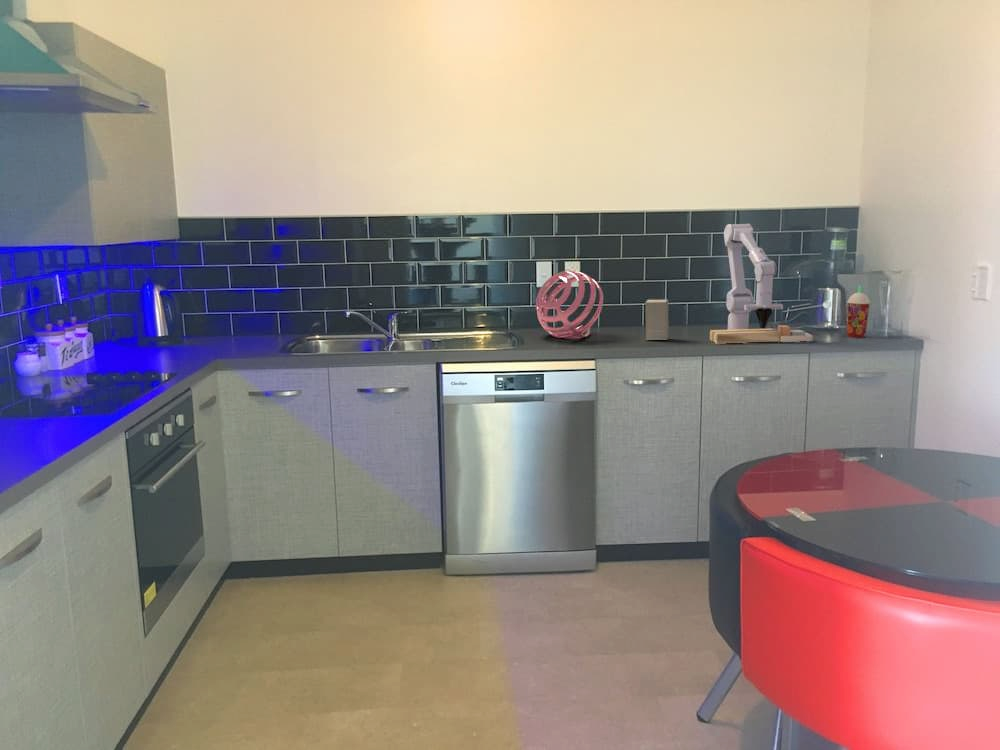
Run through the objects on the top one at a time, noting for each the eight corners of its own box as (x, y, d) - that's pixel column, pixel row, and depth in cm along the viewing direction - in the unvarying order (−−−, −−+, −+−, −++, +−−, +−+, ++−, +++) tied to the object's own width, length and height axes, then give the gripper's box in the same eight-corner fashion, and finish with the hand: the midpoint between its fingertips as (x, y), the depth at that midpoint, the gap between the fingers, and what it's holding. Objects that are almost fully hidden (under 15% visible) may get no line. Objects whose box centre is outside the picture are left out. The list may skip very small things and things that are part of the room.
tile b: (800, 329, 326) (799, 337, 327) (787, 330, 326) (787, 337, 326) (805, 331, 321) (804, 339, 322) (792, 332, 321) (791, 340, 322)
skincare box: (668, 338, 332) (669, 299, 329) (666, 342, 325) (667, 301, 322) (647, 338, 335) (648, 298, 331) (644, 341, 328) (645, 300, 325)
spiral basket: (585, 283, 358) (550, 250, 339) (630, 304, 338) (595, 270, 319) (548, 336, 358) (511, 307, 339) (590, 361, 338) (553, 331, 319)
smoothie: (868, 335, 331) (871, 284, 327) (867, 338, 324) (871, 287, 320) (845, 334, 335) (848, 284, 331) (844, 337, 327) (847, 286, 323)
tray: (769, 338, 329) (770, 331, 329) (800, 337, 330) (801, 330, 330) (780, 342, 319) (781, 336, 318) (812, 342, 319) (813, 335, 319)
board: (709, 340, 327) (710, 330, 326) (770, 338, 328) (770, 328, 328) (717, 344, 318) (717, 333, 318) (778, 342, 320) (779, 332, 319)
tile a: (777, 325, 325) (785, 325, 325) (777, 338, 326) (784, 337, 326) (782, 327, 320) (790, 327, 320) (782, 340, 321) (789, 340, 321)
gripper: (749, 294, 316) (747, 330, 318) (787, 293, 316) (785, 329, 319) (742, 292, 322) (741, 327, 325) (779, 291, 323) (777, 326, 326)
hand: (762, 328), depth 323 cm, fingers closed
